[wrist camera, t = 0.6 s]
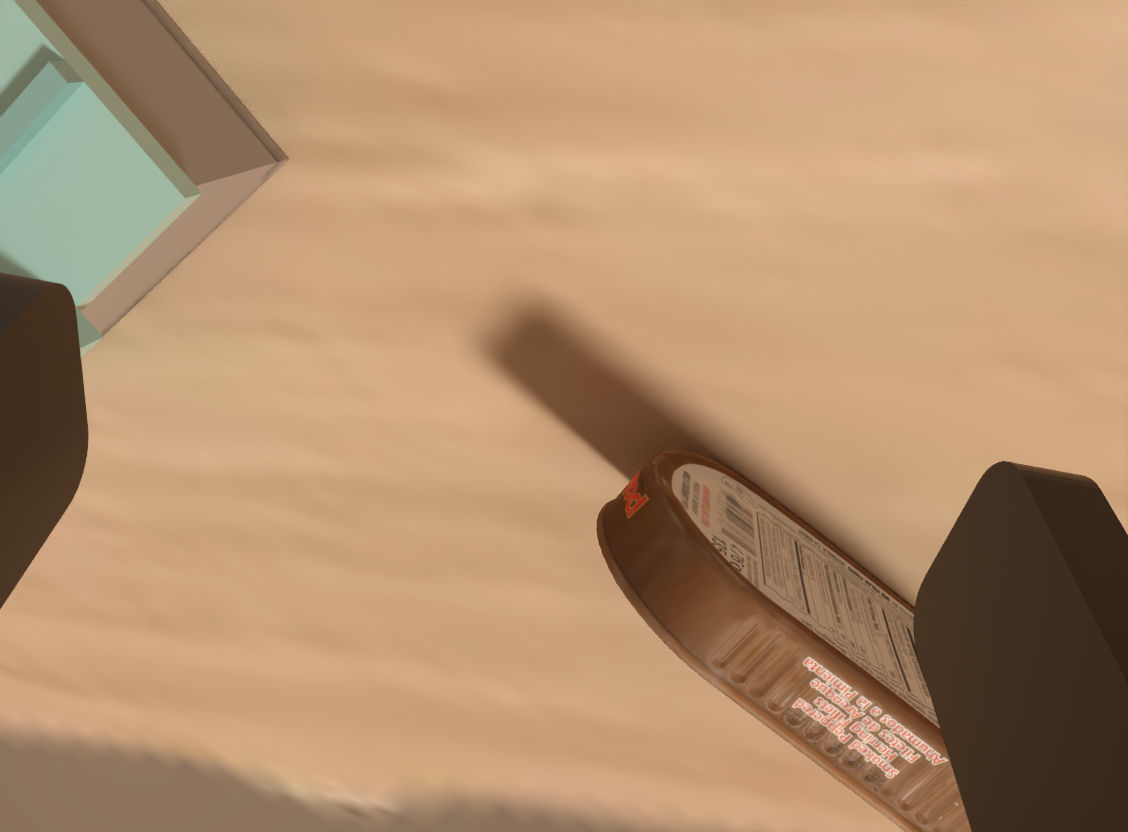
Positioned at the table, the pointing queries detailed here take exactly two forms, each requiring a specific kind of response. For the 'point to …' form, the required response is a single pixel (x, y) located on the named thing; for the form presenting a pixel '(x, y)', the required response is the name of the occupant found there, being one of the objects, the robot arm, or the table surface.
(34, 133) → the lid
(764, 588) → the tin
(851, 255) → the table surface
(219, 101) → the tub
